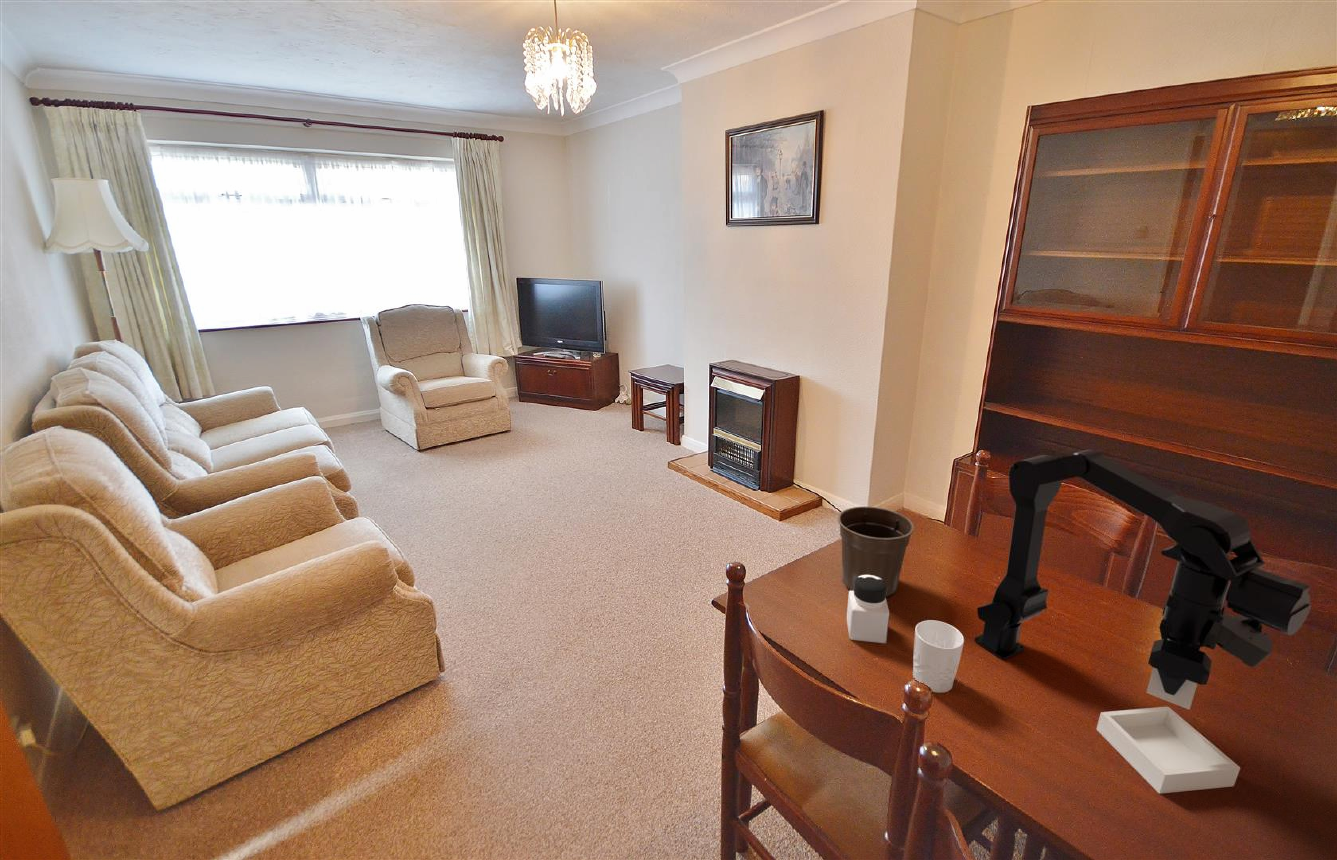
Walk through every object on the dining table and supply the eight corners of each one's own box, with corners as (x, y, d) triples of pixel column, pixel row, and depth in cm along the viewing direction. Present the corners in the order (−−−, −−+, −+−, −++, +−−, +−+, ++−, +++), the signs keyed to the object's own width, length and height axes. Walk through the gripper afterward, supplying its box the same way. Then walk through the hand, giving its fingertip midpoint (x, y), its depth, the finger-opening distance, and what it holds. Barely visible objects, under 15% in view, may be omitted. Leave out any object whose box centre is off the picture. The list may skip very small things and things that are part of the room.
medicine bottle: (886, 644, 116) (892, 592, 112) (849, 640, 117) (854, 588, 113) (881, 622, 122) (887, 572, 118) (846, 618, 124) (850, 569, 120)
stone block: (1189, 710, 85) (1199, 676, 83) (1146, 692, 88) (1155, 660, 87) (1192, 691, 88) (1202, 658, 87) (1151, 675, 92) (1159, 643, 90)
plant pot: (847, 558, 147) (852, 499, 142) (914, 577, 138) (922, 516, 133) (822, 588, 134) (827, 526, 129) (894, 612, 125) (902, 546, 120)
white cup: (953, 670, 108) (961, 624, 105) (958, 700, 101) (966, 652, 98) (908, 661, 111) (914, 616, 108) (910, 690, 104) (916, 643, 101)
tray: (1233, 786, 85) (1240, 767, 84) (1159, 793, 84) (1165, 775, 83) (1162, 723, 96) (1168, 706, 95) (1096, 729, 95) (1100, 712, 94)
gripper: (1276, 651, 72) (1242, 751, 76) (1276, 588, 84) (1247, 677, 89) (1160, 615, 79) (1136, 707, 84) (1176, 562, 92) (1154, 645, 96)
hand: (1171, 684), depth 88 cm, fingers closed on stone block, 5 cm apart
